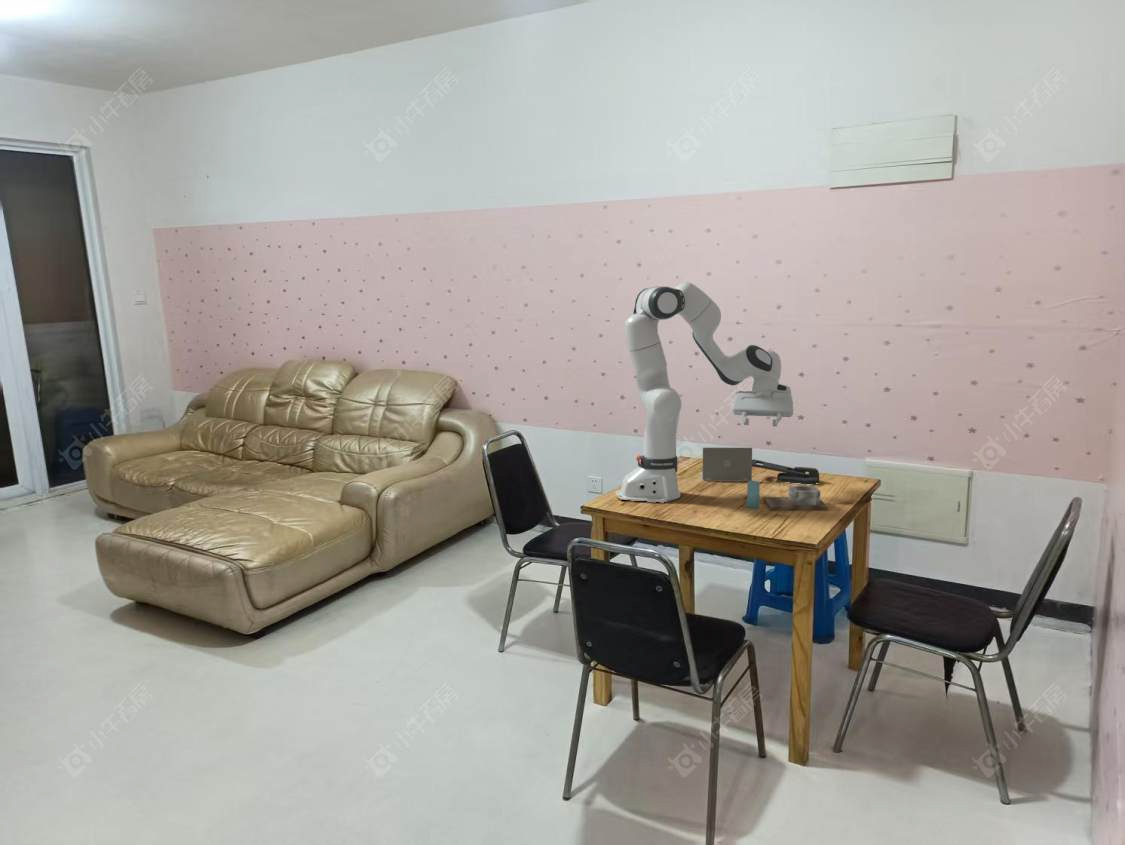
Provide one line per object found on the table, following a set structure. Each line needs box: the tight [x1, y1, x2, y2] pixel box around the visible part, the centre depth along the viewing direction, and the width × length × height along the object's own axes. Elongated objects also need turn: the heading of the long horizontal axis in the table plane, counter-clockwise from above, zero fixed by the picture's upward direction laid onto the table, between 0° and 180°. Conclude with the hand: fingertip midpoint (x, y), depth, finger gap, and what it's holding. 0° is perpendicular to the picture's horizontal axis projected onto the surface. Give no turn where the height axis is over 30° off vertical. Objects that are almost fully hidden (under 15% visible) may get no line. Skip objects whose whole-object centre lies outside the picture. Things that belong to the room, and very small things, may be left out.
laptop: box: [699, 447, 753, 482], centre depth 289 cm, size 18×13×13 cm
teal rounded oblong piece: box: [746, 480, 761, 510], centre depth 249 cm, size 4×4×8 cm
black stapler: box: [752, 458, 820, 485], centre depth 283 cm, size 9×7×25 cm
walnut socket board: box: [762, 484, 829, 512], centre depth 250 cm, size 18×12×6 cm, turn 88°
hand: (760, 424), depth 256 cm, fingers open, 8 cm apart
